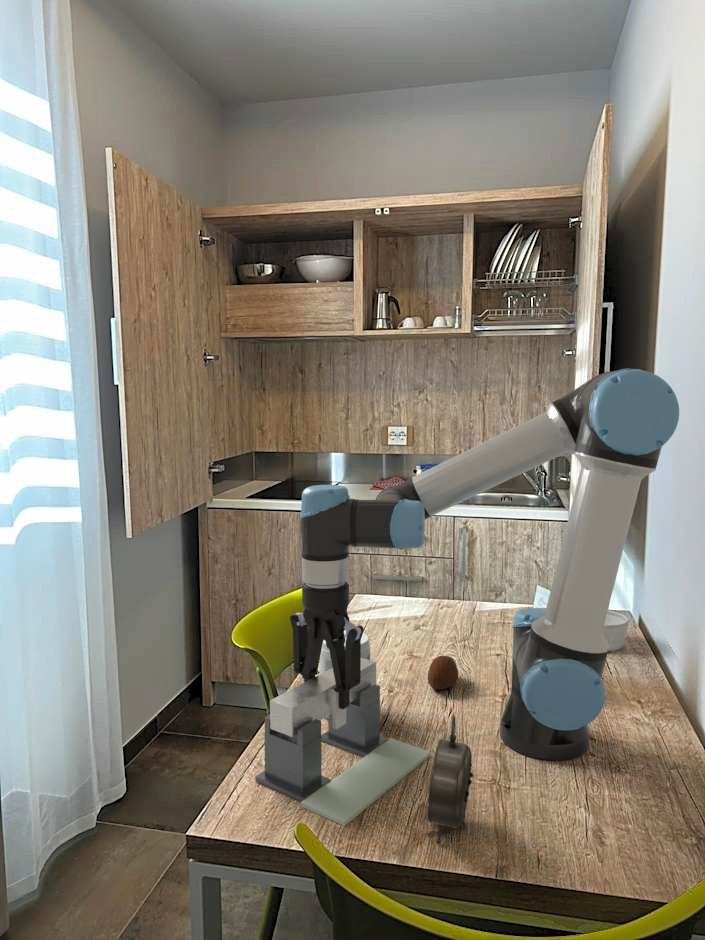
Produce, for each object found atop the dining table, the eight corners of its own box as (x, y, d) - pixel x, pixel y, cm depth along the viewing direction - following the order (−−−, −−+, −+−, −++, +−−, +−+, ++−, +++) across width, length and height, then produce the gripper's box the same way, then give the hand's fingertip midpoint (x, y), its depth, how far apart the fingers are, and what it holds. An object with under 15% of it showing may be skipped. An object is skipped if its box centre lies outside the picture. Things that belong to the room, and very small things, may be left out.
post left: (331, 784, 109) (331, 720, 108) (304, 803, 104) (304, 736, 103) (282, 763, 115) (282, 703, 114) (255, 781, 110) (254, 717, 109)
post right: (388, 743, 122) (388, 685, 121) (366, 758, 117) (367, 698, 116) (342, 726, 128) (342, 671, 127) (319, 740, 123) (319, 683, 122)
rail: (376, 686, 122) (376, 661, 122) (292, 737, 105) (292, 708, 104) (355, 680, 125) (355, 656, 125) (270, 728, 108) (269, 700, 107)
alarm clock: (438, 801, 105) (440, 697, 103) (474, 807, 103) (477, 702, 102) (424, 847, 95) (426, 732, 93) (465, 854, 93) (468, 738, 91)
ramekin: (574, 631, 179) (575, 604, 179) (629, 639, 174) (631, 612, 173) (565, 648, 168) (566, 620, 167) (624, 658, 162) (626, 628, 161)
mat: (430, 755, 118) (430, 752, 118) (344, 826, 99) (344, 822, 99) (390, 741, 123) (390, 737, 123) (300, 806, 104) (300, 802, 104)
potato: (463, 677, 150) (463, 648, 150) (452, 699, 140) (453, 668, 139) (435, 673, 152) (435, 644, 152) (422, 695, 142) (423, 664, 141)
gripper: (384, 585, 110) (384, 727, 113) (299, 569, 121) (300, 699, 124) (356, 597, 104) (356, 746, 107) (268, 578, 115) (271, 715, 118)
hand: (326, 720), depth 115 cm, fingers closed on rail, 4 cm apart
